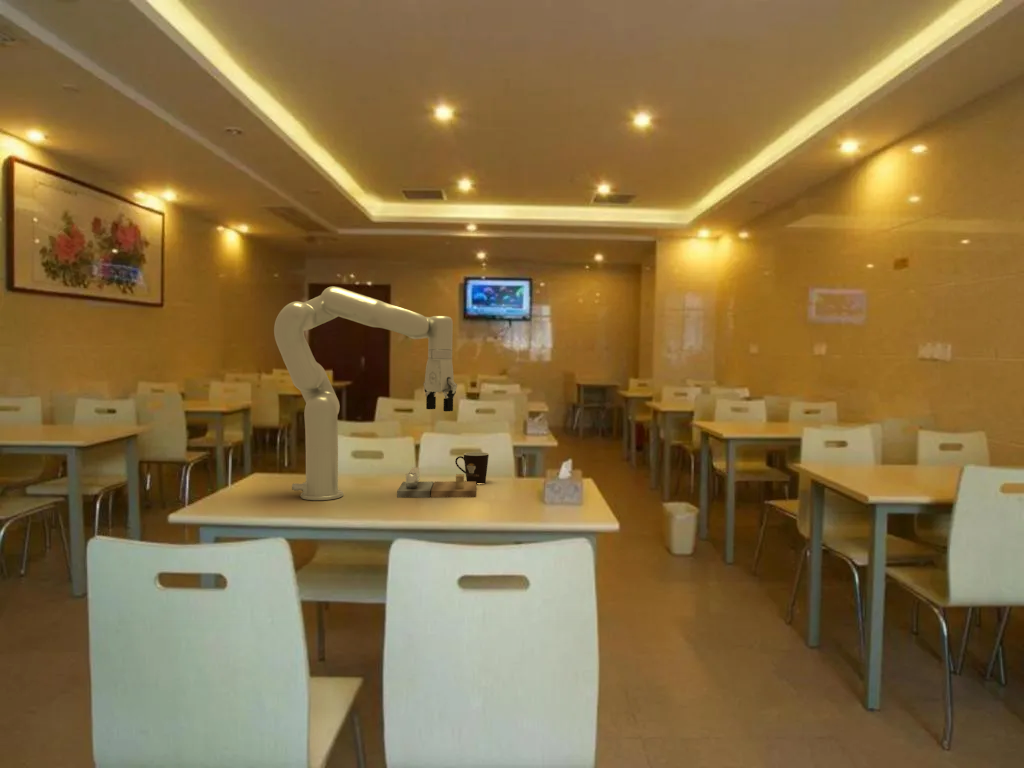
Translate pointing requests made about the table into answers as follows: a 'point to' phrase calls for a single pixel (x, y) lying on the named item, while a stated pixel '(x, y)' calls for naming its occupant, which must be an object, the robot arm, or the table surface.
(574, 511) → the table surface
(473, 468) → the coffee mug
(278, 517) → the table surface
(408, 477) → the lock bar
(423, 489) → the wooden flat block
